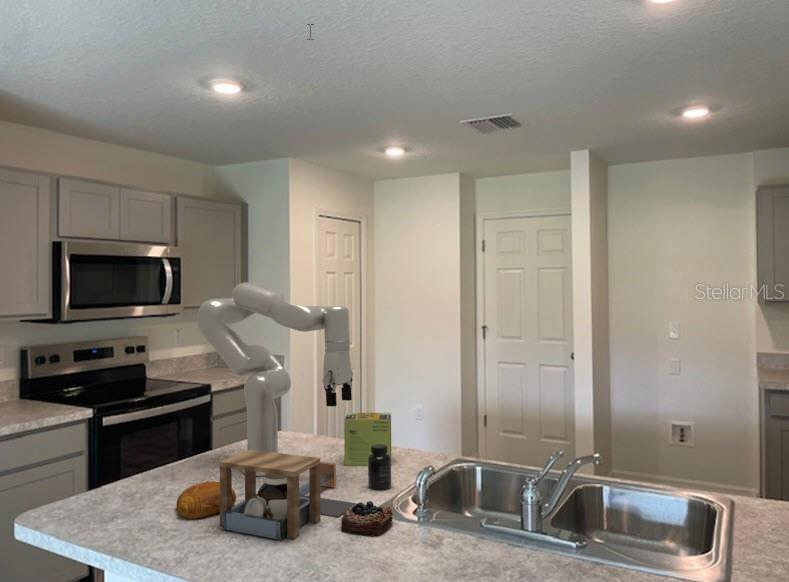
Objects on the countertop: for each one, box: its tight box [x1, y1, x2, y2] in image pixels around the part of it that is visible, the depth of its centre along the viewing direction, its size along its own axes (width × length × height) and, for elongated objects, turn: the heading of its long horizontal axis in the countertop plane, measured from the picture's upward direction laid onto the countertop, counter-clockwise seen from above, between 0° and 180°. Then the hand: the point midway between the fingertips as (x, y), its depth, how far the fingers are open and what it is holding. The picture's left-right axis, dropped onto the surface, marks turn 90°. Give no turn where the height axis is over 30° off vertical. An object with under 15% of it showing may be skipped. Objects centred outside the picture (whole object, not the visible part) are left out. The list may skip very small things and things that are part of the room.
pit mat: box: [303, 495, 357, 518], centre depth 160 cm, size 26×10×1 cm, turn 67°
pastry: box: [340, 500, 393, 538], centre depth 145 cm, size 11×12×6 cm
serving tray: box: [221, 461, 337, 541], centre depth 157 cm, size 16×38×7 cm, turn 157°
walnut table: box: [219, 450, 322, 540], centre depth 147 cm, size 21×12×16 cm, turn 67°
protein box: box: [343, 412, 392, 467], centre depth 200 cm, size 10×15×16 cm
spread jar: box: [244, 473, 287, 520], centre depth 147 cm, size 12×11×12 cm
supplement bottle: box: [367, 444, 392, 491], centre depth 174 cm, size 7×7×12 cm
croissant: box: [175, 480, 237, 520], centre depth 158 cm, size 14×16×8 cm
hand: (339, 403), depth 180 cm, fingers open, 9 cm apart
